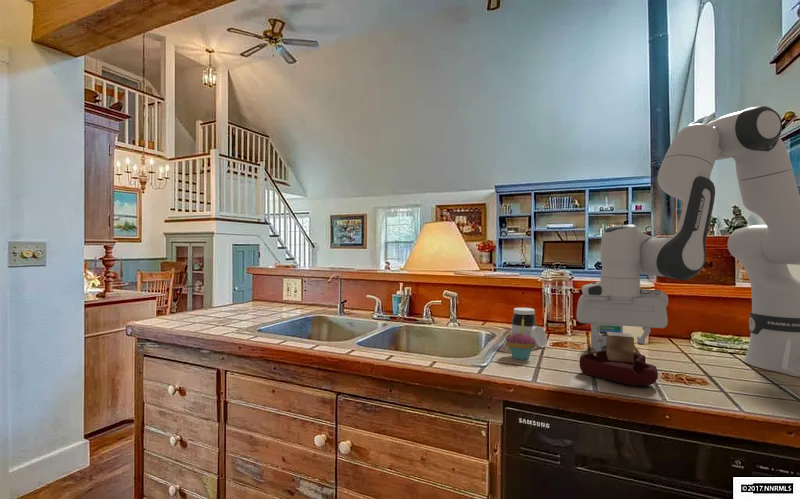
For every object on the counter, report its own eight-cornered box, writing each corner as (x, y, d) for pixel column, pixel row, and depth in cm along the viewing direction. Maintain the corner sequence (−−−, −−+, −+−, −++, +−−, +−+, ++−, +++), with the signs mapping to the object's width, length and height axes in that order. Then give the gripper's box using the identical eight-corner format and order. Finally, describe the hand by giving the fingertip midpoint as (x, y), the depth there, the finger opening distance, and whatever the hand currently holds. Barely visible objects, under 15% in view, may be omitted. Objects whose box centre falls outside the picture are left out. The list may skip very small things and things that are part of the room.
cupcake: (511, 352, 124) (511, 313, 124) (539, 356, 119) (539, 316, 119) (501, 358, 117) (501, 318, 117) (530, 363, 112) (530, 321, 112)
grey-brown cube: (630, 356, 103) (630, 333, 103) (633, 362, 98) (633, 338, 97) (606, 354, 105) (606, 331, 105) (608, 360, 100) (608, 336, 100)
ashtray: (575, 364, 113) (575, 346, 113) (641, 369, 107) (641, 351, 107) (583, 385, 96) (583, 365, 96) (662, 393, 91) (662, 371, 90)
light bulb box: (623, 356, 119) (623, 320, 119) (599, 355, 120) (599, 320, 120) (612, 347, 129) (612, 314, 129) (589, 346, 131) (589, 313, 130)
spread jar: (515, 338, 141) (515, 306, 141) (548, 342, 136) (548, 308, 136) (508, 346, 131) (508, 311, 130) (545, 350, 126) (545, 314, 126)
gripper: (665, 288, 100) (665, 343, 100) (576, 285, 108) (576, 336, 108) (671, 291, 94) (671, 349, 94) (576, 288, 102) (576, 341, 102)
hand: (619, 342), depth 101 cm, fingers open, 8 cm apart
